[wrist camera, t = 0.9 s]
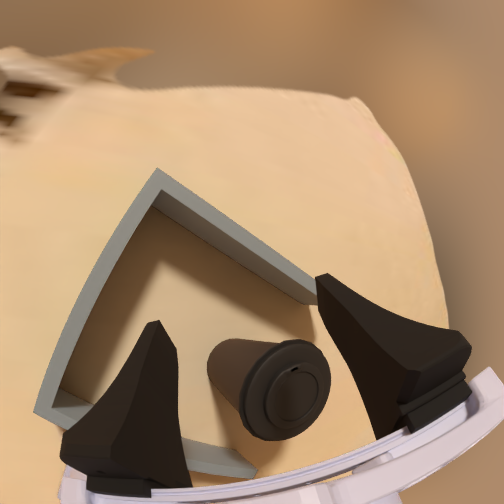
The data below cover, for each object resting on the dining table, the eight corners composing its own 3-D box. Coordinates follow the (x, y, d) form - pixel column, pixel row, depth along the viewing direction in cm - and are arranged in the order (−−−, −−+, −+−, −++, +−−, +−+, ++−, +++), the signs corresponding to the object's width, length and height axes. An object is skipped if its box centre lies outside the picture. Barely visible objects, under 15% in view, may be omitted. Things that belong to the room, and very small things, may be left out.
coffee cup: (234, 306, 27) (304, 316, 18) (281, 359, 29) (353, 381, 20) (174, 368, 23) (222, 414, 14) (231, 416, 25) (293, 462, 17)
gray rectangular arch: (231, 458, 24) (252, 479, 20) (41, 390, 16) (32, 412, 13) (307, 294, 31) (336, 295, 27) (146, 186, 23) (157, 167, 19)
